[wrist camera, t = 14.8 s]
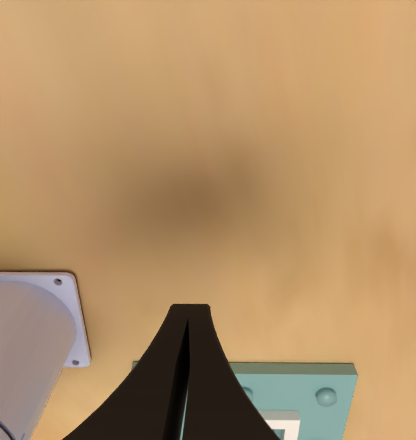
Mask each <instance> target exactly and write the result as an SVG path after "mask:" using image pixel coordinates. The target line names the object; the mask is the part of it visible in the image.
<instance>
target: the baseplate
mask: <svg viewBox="0 0 416 440" xmlns="http://www.w3.org/2000/svg"><path fill="white" fill-rule="evenodd" d="M137 363H138V362H134V363H133V367H132V370H133V368H134V367H135V366H136V364H137ZM229 364H230V366H231V368H232V370H233V372H234V374H235V376H236V378H237V379H238V381H239V383H240V385H241V386H242V388H243V390H244V391H245V393H246V394H247V396H248V397H249V399H250V400H251V402H252V403H253V405H254V406H255V407H256V409H257V410H258V412H259V413H260V414H261V416H262V417H263V418H264V420H265V421H266V422H267V424H268V425H269V426H270V427H271V429H274V432H275V434H276V435H277V436H278V437H279V438H280V439H281V440H342V438H343V434H344V430H345V426H346V422H347V418H348V414H349V410H350V405H351V401H352V397H353V393H354V389H355V385H356V381H357V377H358V374H357V372H356V369H355V367H354V364H318V363H229ZM187 393H188V391H187ZM186 402H187V398H186ZM185 411H186V404H185V410H184V417H183V423H182V430H181V437H180V440H182V436H183V428H184V419H185Z"/></svg>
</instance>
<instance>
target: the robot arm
mask: <svg viewBox="0 0 416 440" xmlns="http://www.w3.org/2000/svg"><path fill="white" fill-rule="evenodd" d="M57 279H60V280H61V281H62V282H59V281H57ZM76 360H77V361H76ZM90 362H91V356H90V351H89V346H88V341H87V336H86V331H85V326H84V320H83V315H82V310H81V305H80V300H79V295H78V290H77V284H76V279H75V277H74V276H73V275H72V274H71V273H67V272H0V440H30V439H31V437H32V435H33V432H34V430H35V428H36V426H37V424H38V421H39V419H40V417H41V415H42V413H43V410H44V408H45V406H46V404H47V402H48V399H49V397H50V395H51V393H52V391H53V388H54V386H55V384H56V382H57V380H58V377H59V375H60V373H61V371H62V369H63V367H87V366H89V364H90ZM187 391H188V393H187ZM186 398H187V402H186ZM185 404H186V411H185V419H184V428H183V436H182V440H281V439H280V438H279V437H278V436H277V435H276V434H275V432H274V431H273V430H272V429H271V427H270V426H269V425H268V424H267V422H266V421H265V420H264V418H263V417H262V416H261V414H260V413H259V412H258V410H257V409H256V407H255V406H254V405H253V403H252V402H251V400H250V399H249V397H248V396H247V394H246V393H245V391H244V390H243V388H242V386H241V385H240V383H239V381H238V379H237V378H236V376H235V374H234V372H233V370H232V368H231V366H230V364H229V362H228V360H227V358H226V356H225V354H224V352H223V349H222V347H221V344H220V342H219V339H218V337H217V334H216V331H215V328H214V325H213V321H212V317H211V311H210V306H209V305H208V304H173V305H172V306H170V309H169V311H168V314H167V316H166V318H165V320H164V322H163V324H162V325H161V327H160V329H159V331H158V333H157V334H156V336H155V337H154V339H153V341H152V342H151V344H150V346H149V347H148V349H147V350H146V352H145V353H144V354H143V356H142V357H141V359H140V360H139V362H138V363H137V364H136V366H135V367H134V368H133V370H132V371H131V372H130V373H129V375H128V376H127V377H126V378H125V379H124V381H123V382H122V383H121V384H120V385H119V387H118V388H117V389H116V390H115V391H114V392H113V393H112V394H111V395H110V396H109V397H108V398H107V400H106V401H105V402H104V403H103V404H102V405H101V406H100V407H99V408H98V409H97V410H95V411H94V412H93V413H92V414H91V415H90V416H89V417H88V418H87V419H86V420H85V421H83V422H82V423H81V424H80V425H79V426H78V427H77V428H76V429H75V430H73V431H72V432H71V433H70V434H69V435H67V436H66V437H65V438H63V439H62V440H180V437H181V430H182V423H183V417H184V410H185Z"/></svg>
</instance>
